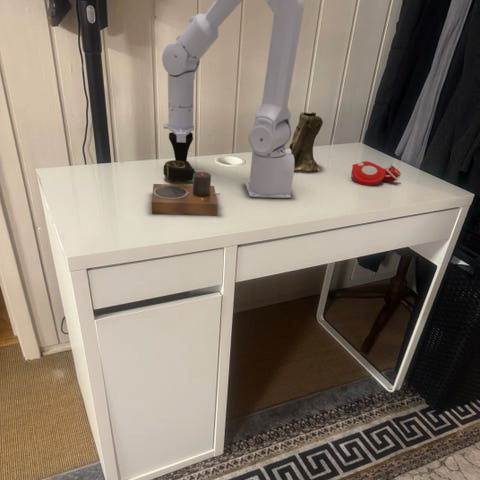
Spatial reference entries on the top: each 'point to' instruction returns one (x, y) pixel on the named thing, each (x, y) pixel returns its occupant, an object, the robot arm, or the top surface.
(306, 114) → the tree stump
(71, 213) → the top surface
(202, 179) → the dial
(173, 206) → the warmer
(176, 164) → the tape measure
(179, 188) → the heating plate
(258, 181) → the robot arm
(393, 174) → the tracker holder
